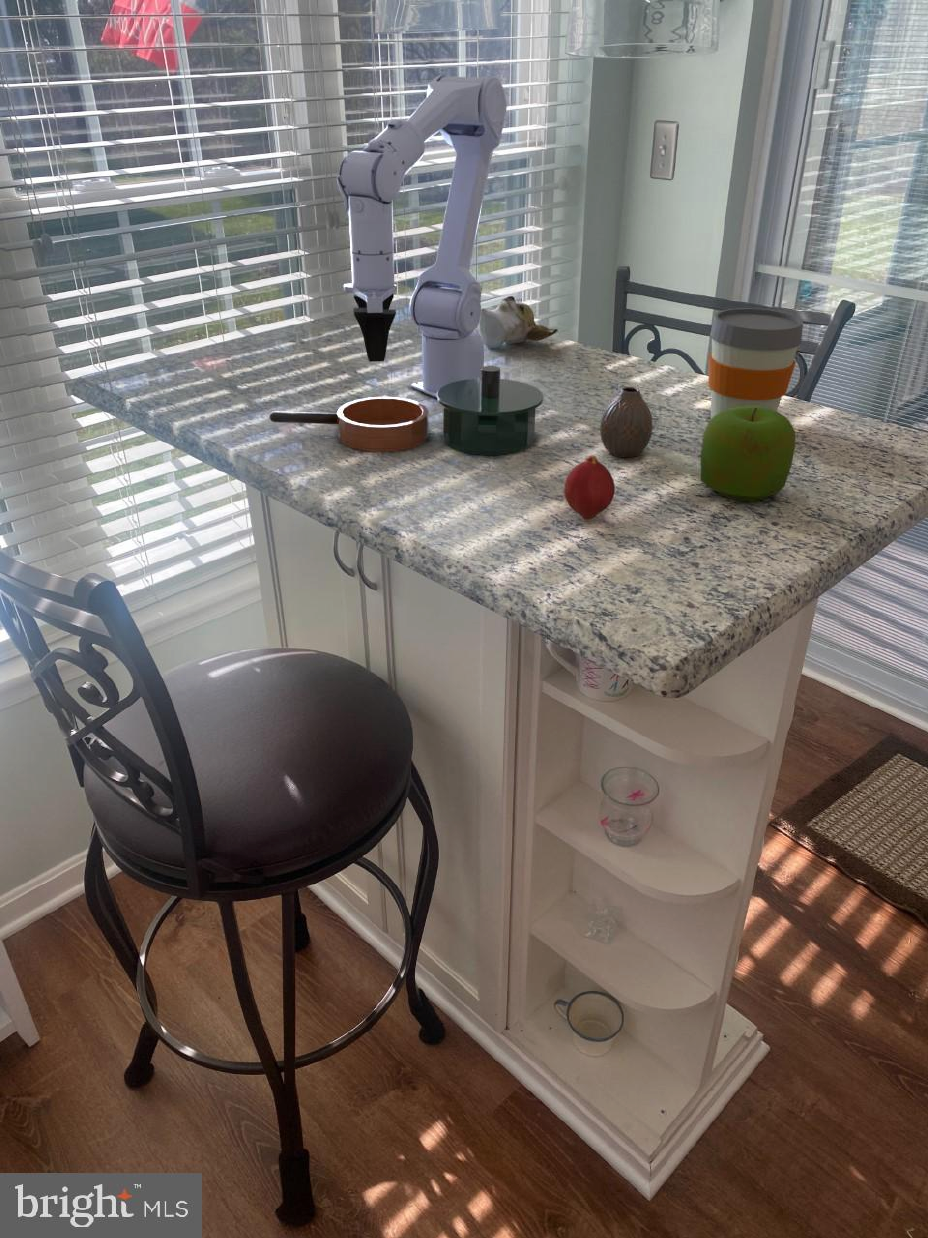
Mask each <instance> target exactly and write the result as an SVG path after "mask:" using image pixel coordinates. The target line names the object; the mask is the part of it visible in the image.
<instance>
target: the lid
mask: <svg viewBox="0 0 928 1238" xmlns="http://www.w3.org/2000/svg"><path fill="white" fill-rule="evenodd" d="M436 400H437V402H438V404H439V405H441V406H442V407H443V406H444V407H446V408H448V409H451V410H454V411H457V412H461V413H466V414H472V415H482V416H504V415H513V414H519V413H524V412H528V411H530V410H533V409H535V408H536V409H537V408H539V407H540V406H541V405H542V403H544V402H543V401H544V394H543V392H542V391H541V390H540V389H539V388H537V387H535V386H534V385H531V384H529V383H526V382H522V381H518V380H513V379H505V378H501V367H499V366H495V365H484V367H482V368H481V378H479V379H468V380H461V381H457V382H453V383H450V384H447V385H445V386H443V387H442V388H440V389H439V390H438V392H437V398H436ZM536 409H535V410H536Z"/></svg>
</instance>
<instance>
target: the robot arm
mask: <svg viewBox="0 0 928 1238" xmlns="http://www.w3.org/2000/svg"><path fill="white" fill-rule="evenodd" d="M507 107H508V102H507V100H506V93H505V90H504V87H503V84H502V82H501V81H500V79H499V78H497V77H495V76H489V77H472V76H470V77H469V76H447V75H446V74H439V75H437V76H436V77H435V78H434V79H433V80H432V81H431V82H430V83H429V84H427V91H426V97H425V98H424V99H423V101H422V102H421V103H420V104H419V105H418V107H417V108H416V109H415V110H414V111H413V113H412V114H411V115H410V116H409V117H408V118H407V119H401V118H399V119H397V118H396V119H395V118H391V119H390V120H388V121H387V122H386V127H385V128H384V129H383V130H382V131H381V132H380V133H379V134H378V135H376V137H375V138H372V139H371V140H369V142H368V143H367V145H366V146H365V147H364V148H363V149H362V150H353V151H350V152H349V153H348V154H347V155H346V156H344V158H342V160H341V162H340V165H339V168H338V175H337V176H336V182H337V186H338V191H339V192H340V193H341V195H342V198H343V205H344V210H345V212H346V213H347V214H348V226H349V227H348V228H349V245H350V264H351V265H350V266H351V283H344V284H343V292H345V293H352V294H353V299H354V301H355V303H356V305H357V307H353V310H352V311H353V316H354V318H355V320H356V322H357V324H358V326H359V329H360V331H361V334H362V338H363V342H364V348H365V352H366V357H367V359H368V361H369V362H371V363H372V362H385V359H386V355H387V350H388V349H387V348H388V340H389V334H390V330H391V327H392V324H393V322H394V320H395V318H396V315H397V310H396V309H390V307H391V304H392V302H393V300H394V298H395V296H394V295H395V293H396V291H397V284H396V283H395V252H394V251H395V250H394V247H395V246H394V214H393V212H394V211H393V201H394V200H396V199H397V198H398V197H399V194H400V191H401V187H402V183H403V181H404V180H405V177H406V174H407V173H408V172H409V171H410V170H412V168H413V167H414V166H415V165H417V164H418V162H419V161H420V160H421V159H422V158H423V156H424V154H425V150H426V145H425V143H426V142H428V141H429V140H430V139H431V138H433V137H434V136H435V135H436V134H438V133H440V134H441V136H442V138H443V140H444V142H445V143H446V144H448V145H449V146H450V147H452V148H453V149H454V152H455V161H454V166H453V171H452V176H451V182H450V186H449V191H448V196H447V202H446V206H445V210H444V211H445V212H444V217H443V222H442V228H441V232H440V237H439V243H438V248H437V252H436V258H435V263H434V264H432V265H431V266H429V267H428V268H426V269H425V270H424V271H422V272H421V273H419V275H418V280H417V283H416V287H415V289H414V291H413V293H412V295H411V297H410V301H409V314H410V318H411V321H412V323H413V324H414V325H415V326H416V327H417V333H420V334H421V357H422V358H421V367H422V368H421V369H422V370H421V371H422V381H419V382H414V383H411V384H410V387H411V388H412V389H415V390H417V391H419V392H422V393H424V394H425V395H429V396H431V397H433V398H436V399H437V392H438V390H439V389H440V388H442V387H443V386H445V385H447V384H450V383H453V382H457V381H461V380H468V379H479V378H481V368H482V367H484V366H485V344H484V343H483V341H482V338H481V336H480V335H479V333H478V330H476V328H478V323H479V320H480V316H481V309H482V305H481V302H482V301H481V300H482V292H483V291H482V290H483V287H482V285H481V284H480V282H479V281H478V280H477V278H475V276H474V275H473V273H472V272H471V271H470V267H471V262H472V257H473V253H474V247H475V243H476V238H477V237H476V236H477V232H478V227H479V222H480V218H481V212H482V208H483V207H482V206H483V203H484V197H485V193H486V188H487V182H488V179H489V178H488V177H489V174H490V170H491V169H490V167H491V163H492V159H493V153H494V150H495V149H497V148H498V147H499V146H500V142H501V137H502V133H503V128H504V123H505V119H506V114H507Z"/></svg>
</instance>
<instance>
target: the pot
mask: <svg viewBox="0 0 928 1238" xmlns="http://www.w3.org/2000/svg"><path fill="white" fill-rule="evenodd" d="M442 408H443V409H442V411H443V413H442V414H443V415H442V417H443V418H442V419H443V423H442V424H443V425H442V426H443V428H442V430H443V431H442V432H443V434H442V435H443V440H444V443H445V444H446V445H447V446H448V447H450V448H451V449H454V450H456V451H458V452H462V453H465V454H471V455H477V456H505V455H506V456H507V455H512V454H517V453H521V452H523V451H526V450H527V449H529V448H530V447H531V446H532V445H533V444H534V442H535V430H536V429H535V428H536V427H535V426H536V409H537V408H535V409H533V410H530V411H528V412H524V413H519V414H513V415H504V416H482V415H472V414H466V413H461V412H457V411H454V410H451V409H448V408H446V407H444V406H443V405H442Z"/></svg>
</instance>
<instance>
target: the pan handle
mask: <svg viewBox="0 0 928 1238" xmlns="http://www.w3.org/2000/svg"><path fill="white" fill-rule="evenodd" d="M269 420H270V421H271V422H272V423H283V424H284V423H286V424H287V423H288V424H317V425H318V424H319V425H337V412H336V413H335V412H307V411H306V412H305V411H278V410H277V411H275V410H274V411H271V412H270V414H269Z"/></svg>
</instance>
